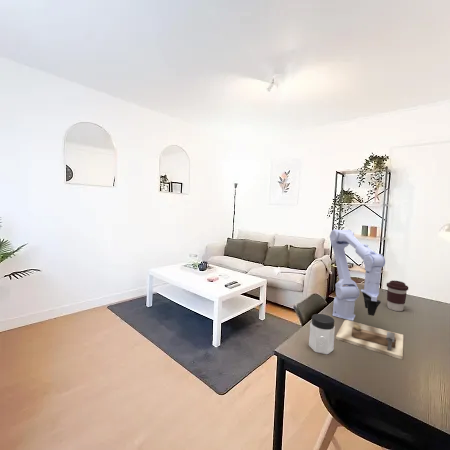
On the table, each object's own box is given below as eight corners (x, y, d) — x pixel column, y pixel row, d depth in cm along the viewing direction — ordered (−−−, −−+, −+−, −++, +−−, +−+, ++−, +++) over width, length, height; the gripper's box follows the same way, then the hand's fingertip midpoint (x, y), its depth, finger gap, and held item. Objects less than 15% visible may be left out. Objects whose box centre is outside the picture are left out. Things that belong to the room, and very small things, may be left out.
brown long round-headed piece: (351, 336, 107) (351, 329, 107) (351, 333, 110) (352, 326, 110) (395, 348, 99) (396, 340, 99) (394, 344, 103) (395, 336, 102)
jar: (308, 351, 98) (310, 320, 97) (308, 340, 106) (310, 312, 105) (334, 356, 95) (336, 324, 94) (332, 344, 103) (334, 315, 102)
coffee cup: (405, 308, 144) (408, 281, 143) (406, 314, 136) (409, 286, 135) (384, 303, 150) (387, 278, 148) (384, 309, 141) (386, 282, 140)
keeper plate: (335, 338, 108) (336, 325, 107) (344, 321, 124) (345, 309, 124) (402, 359, 95) (403, 343, 94) (403, 337, 111) (404, 324, 111)
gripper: (359, 275, 121) (357, 304, 123) (364, 284, 108) (361, 316, 109) (376, 278, 119) (374, 306, 120) (384, 287, 105) (380, 319, 107)
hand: (369, 311), depth 114 cm, fingers open, 7 cm apart
